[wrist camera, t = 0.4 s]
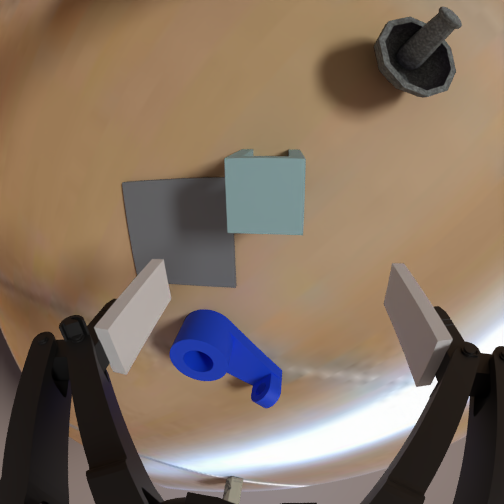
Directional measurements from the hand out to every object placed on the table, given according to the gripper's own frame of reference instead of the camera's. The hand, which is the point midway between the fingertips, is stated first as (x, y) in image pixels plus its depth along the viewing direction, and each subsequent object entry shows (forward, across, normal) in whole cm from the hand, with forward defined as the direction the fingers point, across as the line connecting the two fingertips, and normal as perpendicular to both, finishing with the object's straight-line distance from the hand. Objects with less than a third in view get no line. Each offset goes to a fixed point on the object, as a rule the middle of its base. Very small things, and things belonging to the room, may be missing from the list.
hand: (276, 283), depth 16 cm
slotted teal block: (+23, -2, +2) cm, 23 cm away
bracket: (+23, -8, -27) cm, 36 cm away
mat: (+23, -15, -6) cm, 28 cm away
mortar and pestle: (+23, +16, +18) cm, 34 cm away
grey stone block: (+22, -13, -95) cm, 98 cm away
